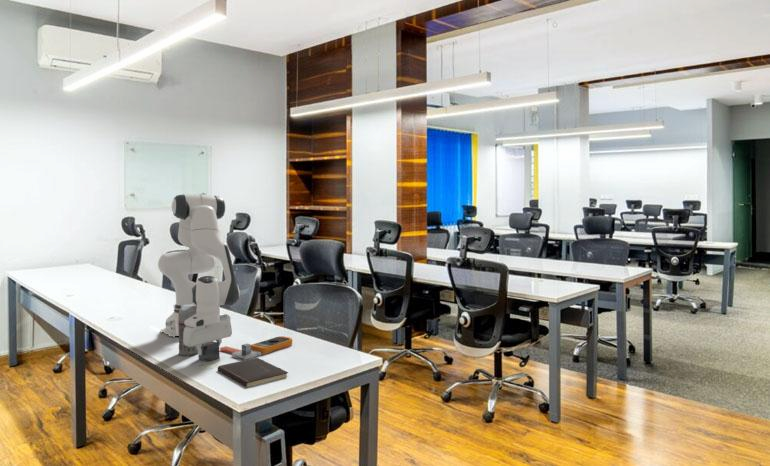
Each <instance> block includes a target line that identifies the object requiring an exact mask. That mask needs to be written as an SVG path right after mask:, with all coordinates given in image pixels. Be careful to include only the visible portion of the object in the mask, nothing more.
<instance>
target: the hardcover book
mask: <svg viewBox="0 0 770 466" xmlns="http://www.w3.org/2000/svg"><path fill="white" fill-rule="evenodd" d="M217 372H219V373H220V374H222V375H224V376H226V377H228V378H229V379H231V380H233V381H235V382H236V383H238V384H240V385H241V386H243V387H245V388H249V387H252V386H257V385H260V384H265V383H268V382H273V381H277V380H281V379H285V378H287V377H288V374H289V372H288V371H286V370H285V369H282V368H279V367H277V366H276V365H274V364H271V363H269V362H268V361H265V360H263V359H261V358H259V357H254V358H251V359H247V360H240V361H235V362H231V363H230V362H229V363H226V364H222V365H218V367H217ZM284 377H285V378H284Z"/></svg>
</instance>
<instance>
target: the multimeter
mask: <svg viewBox="0 0 770 466" xmlns="http://www.w3.org/2000/svg"><path fill="white" fill-rule="evenodd" d="M292 345H293V338H292V337H290V336H285V335H281V336H276V337H271V338H269V339H266V340H263V341H262V340H261V341H260V342H256V343H253V344H251V350H255V351H259V352H261V355H266V354H267V355H268V354H269V353H273V352H275V351H278V350H281V349H285V348H287V347H290V346H292Z"/></svg>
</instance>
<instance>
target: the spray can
mask: <svg viewBox="0 0 770 466" xmlns="http://www.w3.org/2000/svg"><path fill="white" fill-rule="evenodd" d="M196 309H197V305H196V304H189V305H182V306H181V308H180V310H179V337H178V354H179V355H180V356H186V355H187V357H188V356H194V355H197V354H198V350H197V348H196V347H195V346H192V347H188V346H185V345H184V343H183V332H184V328H185V327H186V325H185V324H184V321H185V320H186V319H188V318H190V317H191V316H193V315H195V314H196Z"/></svg>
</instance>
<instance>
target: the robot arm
mask: <svg viewBox="0 0 770 466" xmlns="http://www.w3.org/2000/svg"><path fill="white" fill-rule="evenodd" d="M171 211H172V213H173V216H174V217H175V218H177V219H179V225H178V233H177V239H178V242H179V243H180V244H181V245H182V246H183V247H186V248H188V250H181V251H171V252H166V253H163V254H162V255H160V257H159V258H158V263H157V267H158V269H159V271H160V272H161V274H163V275H164V276H165V277H167V279H169V280H170V281H171V283H172V285H173V287H174V290H175V291H174V292H175V304H173V308H174V309H173V313H171V315H169V316H168V317H167V318H166V319H165V327H164V328H161V329H160V331H162V332H164V333H166V334H168V335H170V336H173V337H172V338H176V337H175V336H179V310H180V308H181V306H182V305H189V304H196V305H197V309H196V314H195V315H193V316H191V317H190V318H188V319H186V320H185V321H184V324H185V325H186V327H185V328H184V332H183V343H184V345H185V346H188V347H192V346H195V347H196V348H197V350H198V356H199V355H203V354H204V350H202V349H201V346H202V344H203V343H207V342H211V341H213V342H217V343H219V347H220V346H221V344H222V342H223V341H222V340H223V339H225V338H226V339H227V338H230V337H232V334H233V327H232V323H231V316H230V315H228V313H227V314H225V313H224V314H222V315H221V314H220V313H221V309H220V306H223V305H224V306H233V305H235V304H236V303H237V302H238V301H239V300H240V295H241V293H240V292H241V291H240V288H239V284H238V282H237V279H236V274H235V270H234V265H233V262H232V257H231V253H230V249H229V246H228V245H227V243H226V242H223V240H222V239H221V237H220V233H219V223H218V220H220V219H222V218H223V217H224V216H225V212H226V202H225V199H223V198H222V197H221V196H219V195H207V194H183V193H182V194H178V195H175V196H174V198H173V200H172V202H171ZM216 258H217V259H218V260H219V261H220V263H221V266H222V270H223V275H224V278H225V279H224V280H223V281H218V278H217V277H215V276H211V275H205V276H201V277H199V278H198V279H196V280H197V281H195V282H194V281H193V280H190V279H189V275H195V274H203V273H208V272H211V271H213V270H214V268H215V266H216V261H217V260H216ZM162 332H161V333H162ZM164 333H163V334H164ZM166 334H165V335H166ZM168 335H167V336H168ZM170 336H169V337H170Z"/></svg>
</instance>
